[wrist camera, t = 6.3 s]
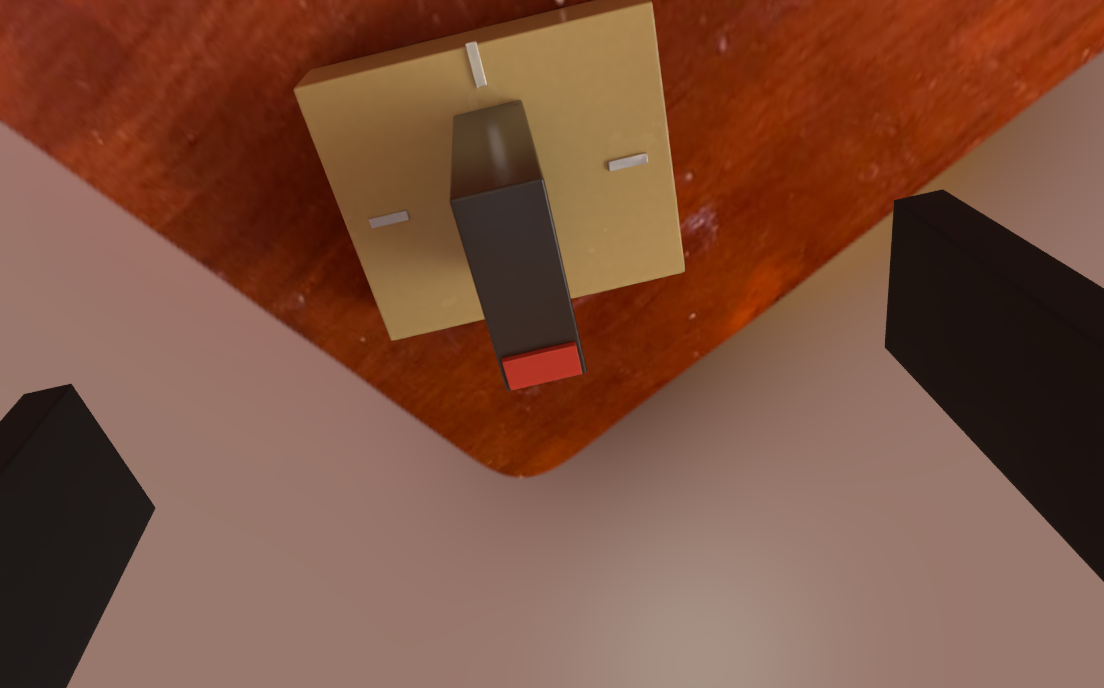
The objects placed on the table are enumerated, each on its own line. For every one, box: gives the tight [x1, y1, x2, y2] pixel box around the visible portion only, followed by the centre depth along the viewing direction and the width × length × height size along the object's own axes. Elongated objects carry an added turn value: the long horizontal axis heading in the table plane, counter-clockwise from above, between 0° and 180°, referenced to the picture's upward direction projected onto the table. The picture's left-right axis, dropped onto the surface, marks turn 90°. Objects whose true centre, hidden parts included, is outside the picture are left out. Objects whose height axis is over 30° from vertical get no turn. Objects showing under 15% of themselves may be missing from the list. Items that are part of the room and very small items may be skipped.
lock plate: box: [294, 0, 685, 341], centre depth 27 cm, size 12×10×3 cm
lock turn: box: [450, 100, 587, 391], centre depth 23 cm, size 6×2×8 cm, turn 12°
